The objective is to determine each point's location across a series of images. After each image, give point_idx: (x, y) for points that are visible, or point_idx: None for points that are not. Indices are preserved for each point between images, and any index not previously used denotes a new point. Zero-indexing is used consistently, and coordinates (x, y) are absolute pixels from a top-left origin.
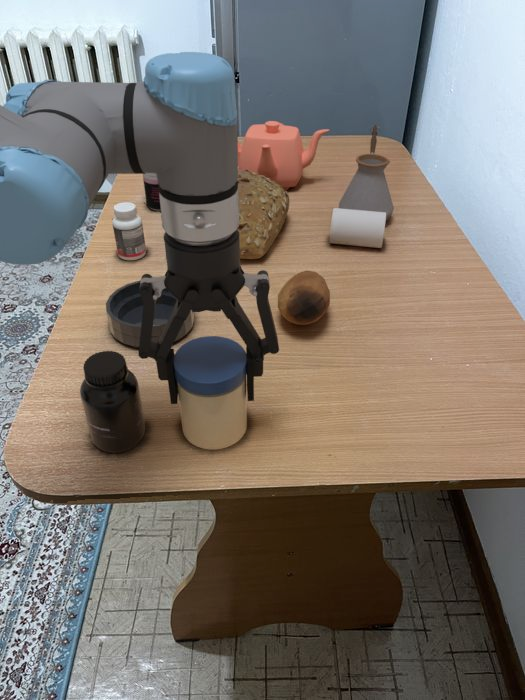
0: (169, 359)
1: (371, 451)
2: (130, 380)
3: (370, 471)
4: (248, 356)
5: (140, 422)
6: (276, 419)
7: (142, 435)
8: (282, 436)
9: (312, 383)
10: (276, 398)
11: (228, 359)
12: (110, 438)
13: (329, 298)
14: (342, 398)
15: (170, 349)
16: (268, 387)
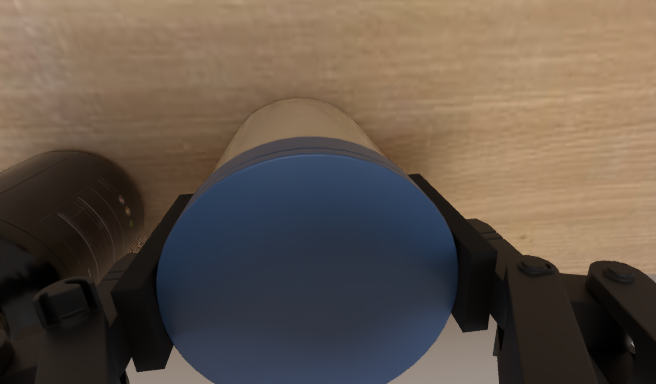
0: (145, 350)
1: (599, 226)
2: (28, 313)
3: (579, 266)
4: (471, 311)
5: (125, 245)
6: (439, 150)
7: (141, 224)
8: (444, 197)
9: (551, 18)
10: (449, 79)
11: (386, 298)
12: None
13: None
14: (603, 78)
15: (127, 295)
16: (434, 35)
